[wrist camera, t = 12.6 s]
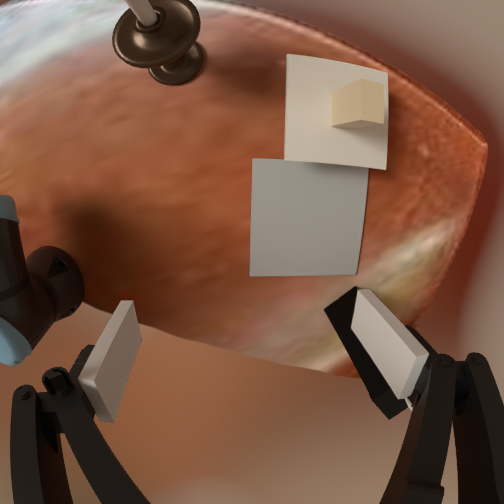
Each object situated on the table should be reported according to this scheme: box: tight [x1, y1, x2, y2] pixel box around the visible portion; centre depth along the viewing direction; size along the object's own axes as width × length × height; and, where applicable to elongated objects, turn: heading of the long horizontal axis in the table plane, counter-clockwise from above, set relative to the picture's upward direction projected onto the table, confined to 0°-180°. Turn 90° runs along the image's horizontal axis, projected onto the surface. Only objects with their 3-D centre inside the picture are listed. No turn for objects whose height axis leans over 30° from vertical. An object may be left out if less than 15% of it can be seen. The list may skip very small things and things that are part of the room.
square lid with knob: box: [284, 54, 388, 170], centre depth 32 cm, size 16×16×11 cm
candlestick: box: [112, 0, 203, 85], centre depth 21 cm, size 11×11×35 cm
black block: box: [324, 286, 418, 420], centre depth 42 cm, size 8×8×28 cm
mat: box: [249, 158, 369, 276], centre depth 48 cm, size 20×20×1 cm
